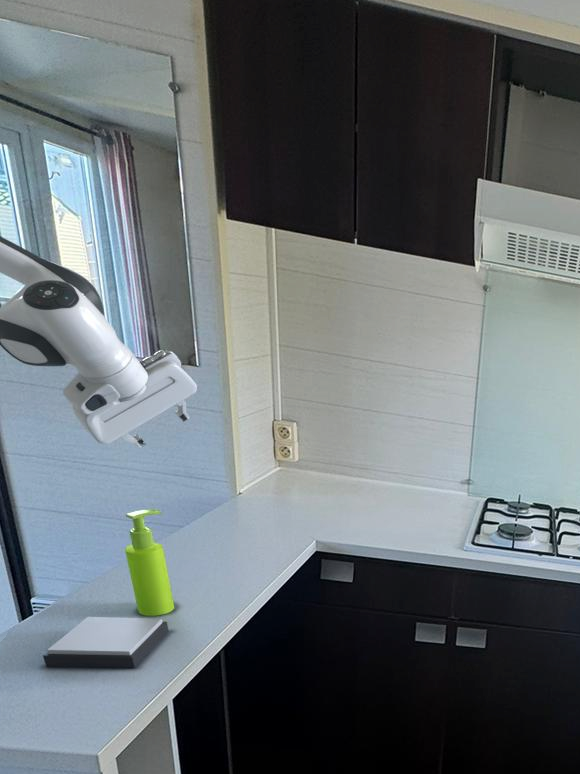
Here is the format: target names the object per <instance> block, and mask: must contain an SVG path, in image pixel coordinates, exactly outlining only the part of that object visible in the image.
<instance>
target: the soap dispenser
mask: <svg viewBox="0 0 580 774" xmlns="http://www.w3.org/2000/svg"><path fill="white" fill-rule="evenodd" d="M162 513H163V511H161V510H158V509H154V508H144V509H138V510H134V511H131V512H128V513H125V516H126V518H128V519H131V520H132V524H133V527H132V528H130V529H129V536H130V541H131V544H129V545H127V546H126V547H125V548H124V552H125V557H126V561H127V566H128V570H129V575H130V579H131V585H132V589H133V593H134V597H135V602H136V607H137V611H138V613H139V615H142V616H147V617H155V616H161V615H166V614H168V613H171V612H173V610H174V609H175V603H174V599H173V598H174V597H173V593H172V588H171V582H170V577H169V572H168V567H167V561H166V557H165V551H164V546H163V544H161V543H159V542H155V541H154V536H153V535H154V534H153V531H152V528H151V527H147V526H146V525H145V519H144V518H145V517H148V516H152V515H161V514H162Z"/></svg>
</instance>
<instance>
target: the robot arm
mask: <svg viewBox="0 0 580 774" xmlns="http://www.w3.org/2000/svg"><path fill="white" fill-rule="evenodd" d="M0 274H3V275H4V276H5V277H8V278H10V279H12V280H14V281H16V282H18V283H20V284H21V285H23V286H21V288H20V289H19V290H18V291H16V292H15V294H14V295H13V296H11V298H9V299H8V300H7V301H6V302H4V304H2V305H1V306H0V347H1V348H2V349H3V350H4V351H5V352H6V353H7V354H9V355H10V356H11V357H13V358H14V359H16V360H17V361H19V362H20V363H22V364H25V365H28V366H33V367H65V366H66V365H71V366H73V367H75V368H76V370H77V371H78V373H76V375H75V376H74V377H73V378H72V379H71V380H70V381H69V383H67V385H66V386H65V387H64V388H63V390H62V394H63V396H64V397H65V398H66V400H67V401H68V402H69V403H70V404H71V406H72V411H73V413H74V415H75V417H76V418H77V420H78V421H79V422H80V424H81V425H82V426H83V428H84V429H85V431H87V433H89V435H90V436H91V437H92V438H93V439H94V440H95V441H96V442H97V443H98V444H102V445H109V444H111V443H113V442H114V441H116V440H117V439H119V438H121V439H122V440H123V441H125V442H129V443H132V444H134V445H136V446H137V447H138V449H142V448H143V447H145V446H147V443H146V442H145V440H144V439H143V438H142V437H140V436H139V435H138V434H135V435H130V434H129V432H131V431H133V430H134V429H136V428H138V427H139V426H142V425H143V424H145V423H146V422H148V421H150V420H151V419H153V418H155V417H157V416H159V415H160V414H162V413H163V412H165V411H167V410H169V409H171V408H172V407H174V406H175V405H177V410H175V411H174V414H175V415H177V417H178V419H180V420H181V421H182V422H183V423H185V422H186V421H188V420H190V419H191V417H190V415H189V414H188V413H187V402H186V401H185V400H186V399H187V398H189V397H191V396H192V395H194V394H196V393H197V390H198V386H197V383H196V382H195V381H194V380H193V379H192V377H191V376H190V375H189V374H188V373H187V372H186V371H185V370H184V369H183V368H182V362H181V359H180V358H179V357H178V355H177V354H176V353H175V352H174V351H171V350H162V349H161V350H158V351H156V352H155V353H153V354H152V355H149V356H147V357H145V358H144V359H142V360H140V361H139V360H138V358H137V357H136V355H135V354H134V352H132V350H131V349H130V348H129V347H128V346H127V345H126V344H125V343H124V342H122V341H121V340H120V339H119V337H118V335H117V333H116V330H115V329H114V327H113V326H112V325H111V324H110V322H109V321H108V319H107V318H106V317H105V310H104V305H103V301H102V298H101V296H100V294H99V291H98V290H97V289H96V287H95V286H94V285H93V284H92V282H90V280H88V279H87V278H86V277H84V276H83V275H81V274H80V273H79V272H76V271H74V270H73V269H70V268H69V267H66V266H63V265H61V264H58V263H56V262H52V261H50V260H48V259H46V258H43V257H41V256H39V255H37V254H35V253H33V252H32V251H29V250H27V249H26V248H23V247H22V246H20V245H18V244H16V243H14V242H12V241H10V239H9V240H8V239H6V238H5V237H2V236H1V235H0Z"/></svg>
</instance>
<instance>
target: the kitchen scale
mask: <svg viewBox="0 0 580 774" xmlns="http://www.w3.org/2000/svg"><path fill="white" fill-rule="evenodd" d="M169 632H170V631H169V626H168V622H167V621H163V620H162V618H145V617H143V618H141V617H112V616H111V617H109V616H87V617H85V618H84V619H83V620H82V621H81V622H79V623H78V624H77V625H76V626H75V627H73V628H72V629H70V630H69V631H68V632H67V633H66V634H65V635H63V636H61V638H60V639H58V640H57V641H56V642H55V643H54V644H52V645H51V646H50V647H49V648H48V649H47V650H46V651H47V652H46V653H44V654H43V655H42V657H43V661H44V664H45V667H46V668H93V669H94V668H98V669H136V668H137V667H138V666H139V664H140V663H142V661H143V660H144V659H145V658H146V657H147V656H148V655H149V654H150V652H152V651H153V650H154V648H155V647H156V646H157V645H158V644H159V643H160V642H161V641H162V640H163V639H164V638H165V636H167V635H168V633H169Z"/></svg>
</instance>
